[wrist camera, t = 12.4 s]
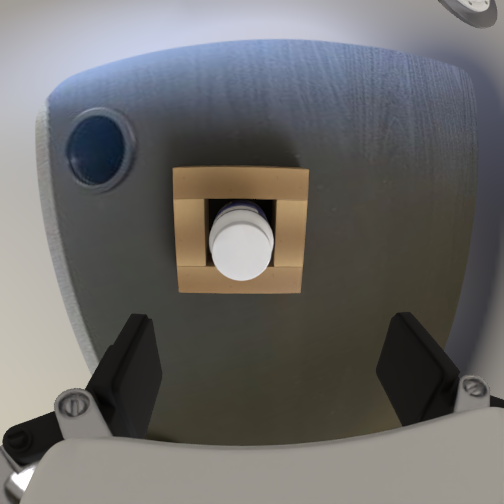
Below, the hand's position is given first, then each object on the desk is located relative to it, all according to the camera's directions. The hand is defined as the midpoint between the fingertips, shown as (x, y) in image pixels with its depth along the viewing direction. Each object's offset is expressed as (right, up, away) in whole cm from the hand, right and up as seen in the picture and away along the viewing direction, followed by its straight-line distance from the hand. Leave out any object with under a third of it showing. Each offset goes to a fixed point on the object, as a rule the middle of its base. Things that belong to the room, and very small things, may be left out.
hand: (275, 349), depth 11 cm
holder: (-2, +7, +22) cm, 23 cm away
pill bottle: (-2, +7, +22) cm, 23 cm away
